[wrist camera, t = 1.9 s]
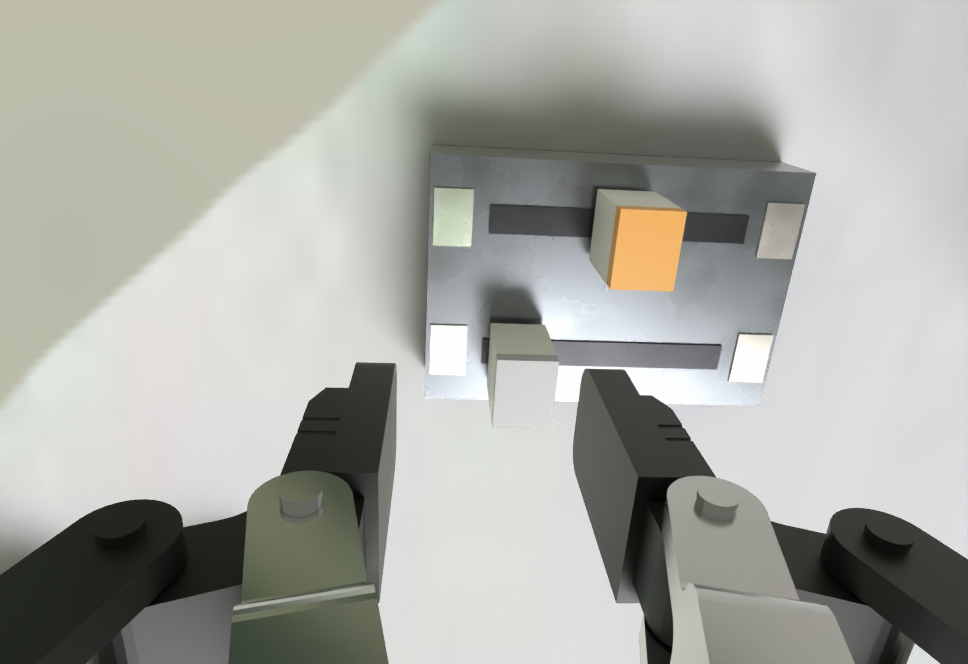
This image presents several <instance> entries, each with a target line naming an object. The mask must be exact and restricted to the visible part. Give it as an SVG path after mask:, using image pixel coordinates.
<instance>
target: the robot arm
mask: <svg viewBox="0 0 968 664" xmlns="http://www.w3.org/2000/svg"><path fill="white" fill-rule="evenodd" d="M396 391H397V371H396V363H359V362H357V363H356V365H355V368H354V372H353V375H352V379H351V382H350V386H349V388H325V389H324V390H322V391H321V392H320V393H319V394H317V395H316V396H315V397H314V398H312V399H311V400H310V401H309V402H308V405H307V408H306V410H305V413H304V415H303V421H301V423H300V426H299V428H298V433H297V434H296V436H295V439H294V441H293V444H292V446H291V449H290V451H289V454H288V457H287V459H286V462H285V464H284V467H283V469H282V472H281V475H280V476H278V477H275V478H273V479H271V480H269V481H267V482H265V483H264V484H262V485H261V486H260V487H259V488H258V489H256V490H255V492H254V493H253V494H252V495H251V497H250V499H249V502H248V506H247V511H246V512H244V513H242V514H239V515H236V516H233V517H230V518H227V519H223V520H218V521H213V522H208V523H203V524H198V525H193V526H188V527H183V522H182V517H181V515H180V513H179V511H178V510H177V509H176V508H175V507H173V506H171V505H170V504H167V503H165V502H161V501H156V500H146V499H144V500H130V501H124V502H119V503H115V504H112V505H108V506H105V507H103V508H100V509H98V510H95V511H93V512H91V513H89V514H87V515H85V516H84V517H82V518H81V519H79V520H78V521H76V522H75V523H73V524H72V525H70V526H69V527H68V528H66V529H65V530H63V531H62V532H61V533H59V534H58V535H56V536H55V537H54V538H52V539H51V540H49V541H48V542H46V543H45V544H44V545H42V546H41V547H39V548H38V549H37V550H35V551H34V552H32V553H31V554H30V555H28V556H27V557H25V558H24V559H22V560H21V561H20V562H18V563H17V564H15V565H14V566H13V567H11V568H10V569H8V570H7V571H6V572H4V573H3V574H1V575H0V664H389V663H388V658H387V652H386V647H385V641H384V635H383V630H382V624H381V619H380V613H379V608H378V603H379V600H380V592H381V583H382V574H383V566H384V557H385V549H386V540H387V531H388V523H389V514H390V506H391V497H392V489H393V480H394V471H395V458H396ZM690 439H691V438H690V436H689V435H688V433H687V432H686V430H685V429H684V428H682V424H681V422H680V421H679V419H678V418H677V416H676V415H675V413H674V412H673V410H672V409H671V408H669V407H668V406H667V405H665V404H664V403H662V402H661V401H660V400H658V399H657V398H655V397H654V396H652V395H640V394H639V393H638V391H637V389H636V387H635V386H634V384H633V382H632V381H631V379H630V377H629V375H628V374H627V372H626V371H625V370H623V369H585V370H584V372H583V374H582V378H581V385H580V393H579V401H578V409H577V417H576V425H575V433H574V441H573V462H574V470H575V474H576V477H577V481H578V484H579V487H580V490H581V493H582V496H583V500H584V503H585V506H586V509H587V512H588V515H589V518H590V522H591V525H592V528H593V531H594V534H595V537H596V541H597V544H598V547H599V550H600V553H601V556H602V559H603V563H604V566H605V569H606V572H607V575H608V578H609V581H610V585H611V588H612V591H613V594H614V597H615V600H616V603H640V605H641V607H642V610H643V618H642V623H641V628H640V633H639V646H640V662H641V664H906V663H907V661H908V658H909V656H910V653H911V651H912V649H913V646H914V644H917V645H918V646H919V647H920V648H922V649H923V650H924V651H925V652H927V653H928V654H929V655H930V656H932V657H933V658H934V659H936V660H937V661H938V662H939V663H941V664H968V559H966V558H965V557H963V556H962V555H960V554H958V553H957V552H955V551H954V550H952V549H951V548H949V547H948V546H946V545H944V544H943V543H941V542H940V541H938V540H937V539H935V538H934V537H932V536H930V535H929V534H927V533H926V532H924V531H923V530H921V529H920V528H918V527H916V526H914V525H913V524H911V523H909V522H907V521H905V520H903V519H901V518H898V517H896V516H893V515H890V514H887V513H884V512H880V511H876V510H871V509H865V508H848V509H844V510H841V511H838V512H836V513H835V514H834V515H833V516H832V518H831V520H830V523H829V526H828V529H827V533H826V534H824V533H819V532H814V531H810V530H805V529H800V528H796V527H791V526H787V525H783V524H779V523H775V522H772V521H770V518H769V516H768V513H767V511H766V509H765V507H764V505H763V504H762V503H761V501H760V500H759V499H758V498H757V497H756V496H755V495H753V494H752V493H751V492H749V491H748V490H746V489H744V488H743V487H741V486H739V485H736V484H734V483H732V482H729V481H726V480H723V479H719V478H716V476H715V475H714V473H713V472H712V470H711V469H710V467H709V466H708V464H707V463H706V461H705V459H704V458H703V456H702V455H701V453H700V452H699V450H698V449H697V447H696V446H695V444H694V443H693V441H691V440H690Z"/></svg>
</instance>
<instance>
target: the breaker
mask: <svg viewBox="0 0 968 664" xmlns="http://www.w3.org/2000/svg"><path fill="white" fill-rule="evenodd" d="M558 368H559V360H558V357H557V355H556V352H555V349H554V347H553V344H552V341H551V339H550V336H549V333H548V331H547V328H546V326H545V325H535V324H502V323H491V326H490V342H489V358H488V373H487V390H488V397H489V405H490V412H491V420H492V427H493V428H520V429H552V423H553V414H554V405H555V396H556V387H557V378H558Z"/></svg>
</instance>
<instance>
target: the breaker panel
mask: <svg viewBox="0 0 968 664" xmlns="http://www.w3.org/2000/svg"><path fill="white" fill-rule="evenodd" d="M815 176H816V173H814V172H811V171H808V170H805V169H802V168H798V167H795V166H792V165H789V164H786V163H782V162H765V161H745V160H725V159H705V158H685V157H665V156H645V155H625V154H605V153H585V152H565V151H545V150H525V149H505V148H485V147H465V146H445V145H432V146H431V153H430V192H429V234H428V276H427V318H426V360H425V398H427V399H473V400H489V397H488V390H487V373H488V358H489V342H490V326H491V323H502V324H535V325H545V326H546V328H547V331H548V333H549V336H550V339H551V341H552V344H553V347H554V349H555V352H556V355H557V357H558V360H559V368H558V378H557V387H556V396H555V401H565V402H578V401H579V393H580V385H581V378H582V374H583V372H584V370H585V369H623V370H625V371H626V372H627V374H628V375H629V377H630V379H631V381H632V382H633V384H634V386H635V387H636V389H637V391H638V393H639V394H640V395H652V396H654V397H655V398H657V399H658V400H660V401H661V402H662V403H664V404H703V405H749V406H759V405H760V401H761V397H762V393H763V389H764V385H765V381H766V376H767V372H768V368H769V364H770V360H771V356H772V352H773V348H774V344H775V340H776V335H777V331H778V327H779V323H780V319H781V315H782V311H783V307H784V303H785V299H786V295H787V290H788V286H789V282H790V278H791V274H792V270H793V266H794V262H795V258H796V254H797V249H798V245H799V241H800V237H801V233H802V229H803V225H804V221H805V217H806V213H807V208H808V204H809V200H810V196H811V192H812V188H813V184H814V180H815ZM598 189H609V190H631V191H652V192H657V193H658V194H660V195H662V196H663V197H665V198H666V199H668V200H669V201H671V202H672V203H674V204H676V205H677V206H679V207H680V208H682V209H683V210H685V211H687V216H686V221H685V227H684V233H683V238H682V244H681V250H680V256H679V261H678V267H677V273H676V279H675V284H674V290H673V292H668V291H640V290H611V289H609V287H608V286H607V285H606V283H605V282H604V280H603V279H602V278H601V276H600V275H599V273H598V272H597V271H596V269H595V268H594V266H593V265H592V264H591V262H590V261H589V257H590V248H591V240H592V232H593V223H594V215H595V207H596V199H597V190H598Z"/></svg>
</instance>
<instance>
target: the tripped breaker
mask: <svg viewBox="0 0 968 664" xmlns="http://www.w3.org/2000/svg"><path fill="white" fill-rule="evenodd" d="M686 216H687V211H685V210H683V209H682V208H680V207H679V206H677V205H676V204H674V203H672V202H671V201H669V200H668V199H666V198H665V197H663V196H662V195H660V194H658V193H657V192H652V191H631V190H609V189H598V190H597V199H596V207H595V215H594V223H593V232H592V240H591V248H590V257H589V261H590V262H591V264H592V265H593V266H594V268H595V269H596V271H597V272H598V273H599V275H600V276H601V278H602V279H603V280H604V282H605V283H606V285H607V286H608V287H609V289H611V290H640V291H668V292H673V290H674V284H675V279H676V273H677V267H678V261H679V256H680V250H681V244H682V238H683V233H684V227H685V221H686Z"/></svg>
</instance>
